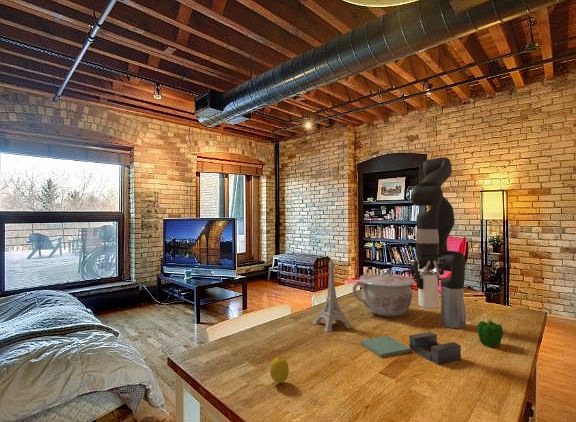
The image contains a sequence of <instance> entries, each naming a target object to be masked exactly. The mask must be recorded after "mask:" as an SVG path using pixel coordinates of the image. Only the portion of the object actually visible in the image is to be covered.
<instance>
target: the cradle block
mask: <svg viewBox="0 0 576 422" xmlns="http://www.w3.org/2000/svg"><path fill="white" fill-rule="evenodd" d="M437 337H438V335H437V333H434V332H433V331H428V332H421V333H414V334H410V335H409V348H411V351H413V352H414V353H415V354H417V355H419V356H420V357H422V358H424V359H426V360H428V361H430V362H432V363H434V364H436V365H437V366H440V365H444V364H448V363H453V362H457V361H461V360H462V352H461V351H462V346H461V345H460V344H459V343H456V342H453V341H451V342H447V343H439V342H438V338H437ZM428 350H430V351H428Z"/></svg>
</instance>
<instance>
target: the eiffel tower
mask: <svg viewBox="0 0 576 422" xmlns="http://www.w3.org/2000/svg"><path fill="white" fill-rule="evenodd" d="M328 268H329V270H328V271H329V272H328V274H329V276H328V287H327V288H328V289H327V295H326V297H325V299H326V301H325V303H324V305H323V308H322V309H320V310H319V311H320V313H319V314H318V315H317V316H316V317H315V319H314V320H313V321H312V324H314V325H319V324H320V325H321V323H320V322H321V320H323V318H324V320H325V326H324V329H323V330H324V331H325V332H326V333H330V332H333V330H332V326H333V323H334V322H337V321H340V320H341V321H342V323H343V324H344V328H347V329H352V328H353V326H352V324H351V323H350V322H349V320H348V319H347V318H346V316H345V312H344V311H342V309H341V307H340V305H339V302H338V300H339V298H337V292H336V285H335V274H334V273H335V272H334V270H335V269H334V268H335V262H334V261H333V258H332V259H331V258H330V260H329V262H328Z"/></svg>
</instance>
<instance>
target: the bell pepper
mask: <svg viewBox="0 0 576 422" xmlns="http://www.w3.org/2000/svg"><path fill="white" fill-rule="evenodd" d="M476 328H477V335H478V339H479V342H480V343H481V344H483V345H485V346H487V347H491V348H496V347H498V346H499V345H500V344H501V342H502V339H503V333H504V331H503V329H504V328H503V327H502V324H499V323H495V322H494V321H493V320H491V319H487V322H486V321H484V320H483V321H482V320H481V321H479V322H478V324H477V326H476Z"/></svg>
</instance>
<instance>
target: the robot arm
mask: <svg viewBox="0 0 576 422" xmlns="http://www.w3.org/2000/svg"><path fill="white" fill-rule="evenodd" d="M452 169H453V167H452V161H451V159H449V158H448V157H446V156H445V157H443V156H442V157H438V158H432V159H426V160H424V161H423V162H422V172H423V176H424V179H422V182H420V183H418V184H417V185H415V186H414V187H413V189H412V190H411V192H410V201H411V202H412V204H413V205H414V206H419V207H424V206H425V207H428V206H429V210H428V211H427V210H426V211H423V212H419V213H417V214H416V234H415V249H416V250H415V252H416V254H417V258H416V259H410V260H409V263H410V275H411V277H414V278H415V279H416V280H415V282H416V288H417V289H418V288H419V289H423V279H422V278H423V276H424V273H426V272H428V271H429V272H434V273H436V276H437V278H438V288H439V287H440V323H441V325H442V326H443V327H447V328H450V329H463V328H464V327H466V326H467V317H466V316H467V313H466V304H465V301H464V300H465V299H464V298H465V297H464V296H465V295H464V293H465V292H464V290H465V289H464V285H465V281H466V280H465V279H466V278H465V277H466V258H465V255H464V254H463V253H462V252H461V251H454V250H448V238H449V235H450V234H451V232H452V230H453V228H454V225H455V220H456V219H455V215H454V214H455V213H454V208H453V205H452V203H450V202H449V201H448V199H447V198H446V197H445V196H444V192H443V189H442V187H443V186H442V185H443V184H444V183H445V182H447V180H448V179H449V178H450V177H451V175H452V171H453V170H452ZM420 272H421V273H420ZM445 272H450V276H449V277H446V278H442V279H441V280H440V277H441V276H442V275H444V274H445Z"/></svg>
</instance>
